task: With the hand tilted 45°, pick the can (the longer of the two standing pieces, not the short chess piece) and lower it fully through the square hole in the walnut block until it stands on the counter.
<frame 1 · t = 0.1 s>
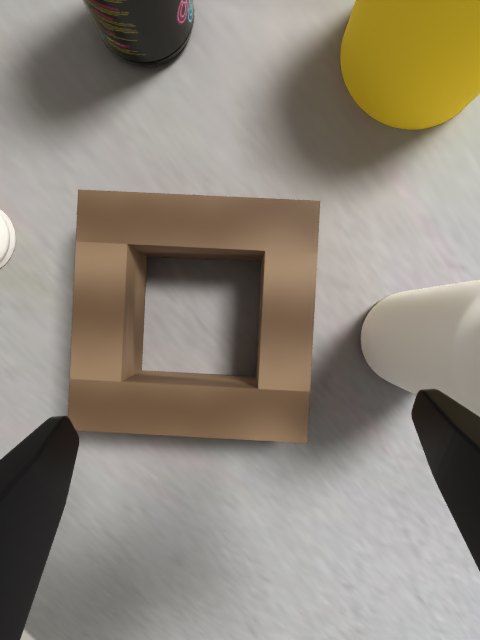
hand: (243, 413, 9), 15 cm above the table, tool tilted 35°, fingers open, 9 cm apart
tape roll: (411, 58, 24), on the table
can: (403, 338, 24), on the table
supplement container: (148, 26, 24), on the table
bored block: (201, 316, 24), on the table
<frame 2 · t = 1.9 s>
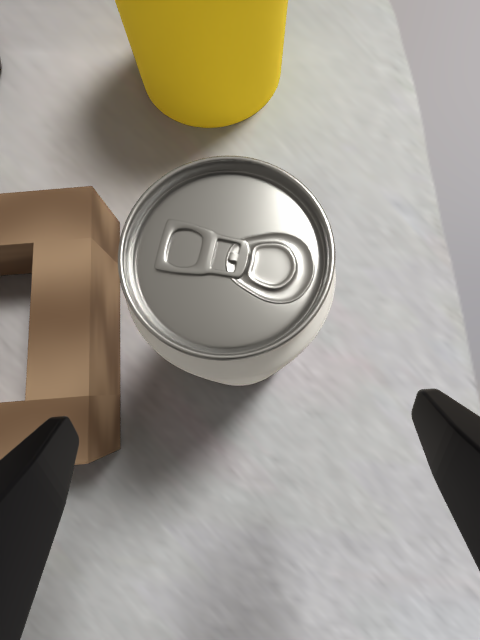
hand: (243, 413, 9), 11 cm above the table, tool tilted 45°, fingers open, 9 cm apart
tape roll: (211, 70, 25), on the table
can: (238, 332, 21), on the table
bored block: (6, 336, 21), on the table
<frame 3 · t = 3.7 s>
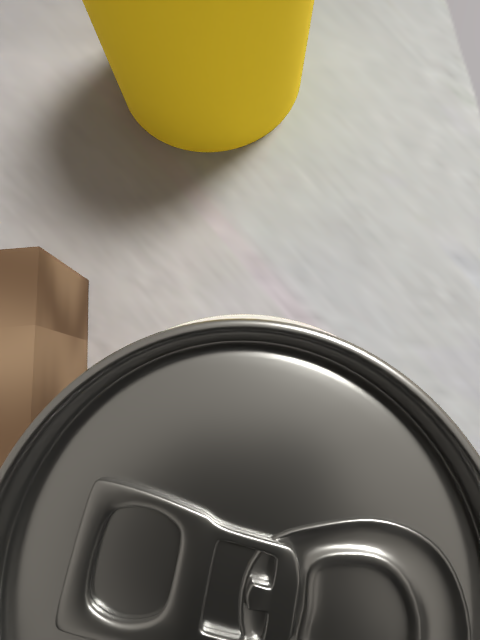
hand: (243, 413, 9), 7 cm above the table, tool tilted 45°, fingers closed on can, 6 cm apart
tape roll: (211, 77, 19), on the table
can: (247, 435, 15), on the table, touching gripper
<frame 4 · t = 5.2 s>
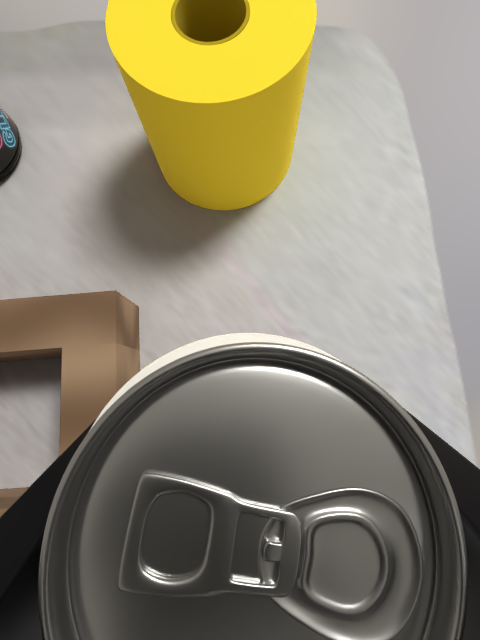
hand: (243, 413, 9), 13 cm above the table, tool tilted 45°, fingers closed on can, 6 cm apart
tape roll: (225, 150, 25), on the table
can: (230, 433, 16), point 5 cm above the table, touching gripper
bored block: (32, 420, 22), on the table
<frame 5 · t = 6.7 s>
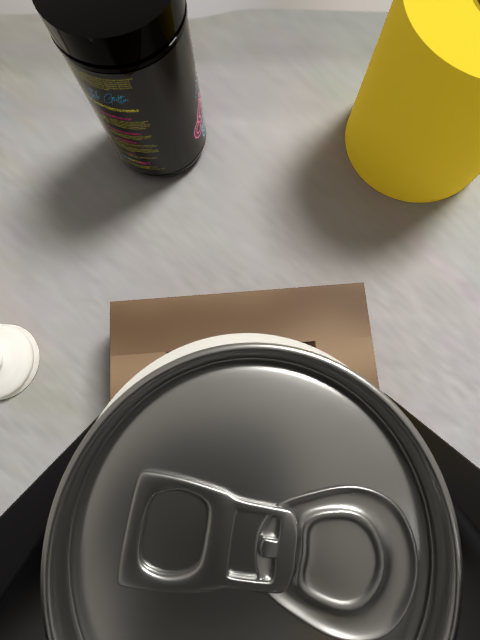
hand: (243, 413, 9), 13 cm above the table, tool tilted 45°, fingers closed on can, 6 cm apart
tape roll: (412, 142, 25), on the table
chess piece: (4, 361, 23), on the table
can: (233, 432, 16), point 5 cm above the table, touching gripper
supplement container: (163, 143, 25), on the table
bored block: (246, 416, 21), on the table
when the fingers open (8 cm above the table, at t = 8.4 s): can stays where it is, resting in bored block.
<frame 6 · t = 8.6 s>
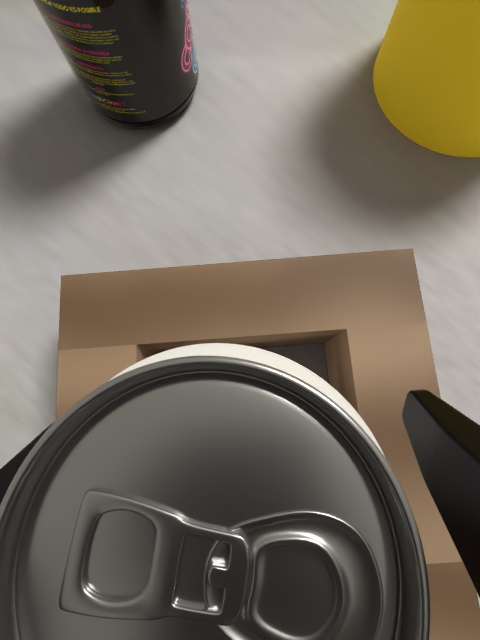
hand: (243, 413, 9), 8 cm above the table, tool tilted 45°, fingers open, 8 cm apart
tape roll: (458, 84, 20), on the table
can: (236, 439, 16), resting in bored block
supplement container: (145, 88, 20), on the table
bored block: (249, 433, 16), on the table
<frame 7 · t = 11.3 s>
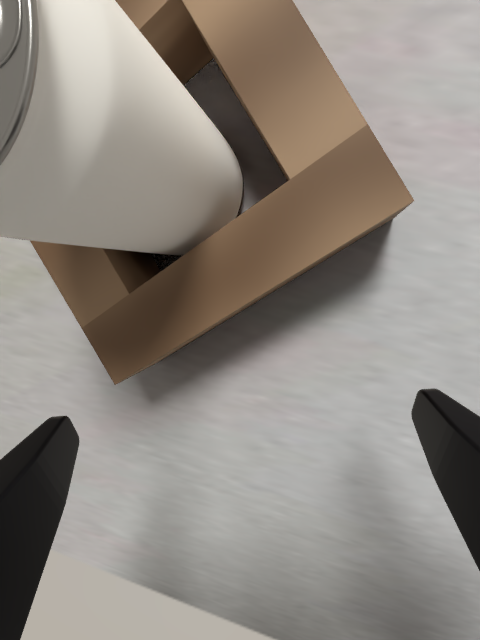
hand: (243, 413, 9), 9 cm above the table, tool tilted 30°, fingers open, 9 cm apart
can: (186, 193, 18), resting in bored block
bored block: (191, 180, 17), on the table
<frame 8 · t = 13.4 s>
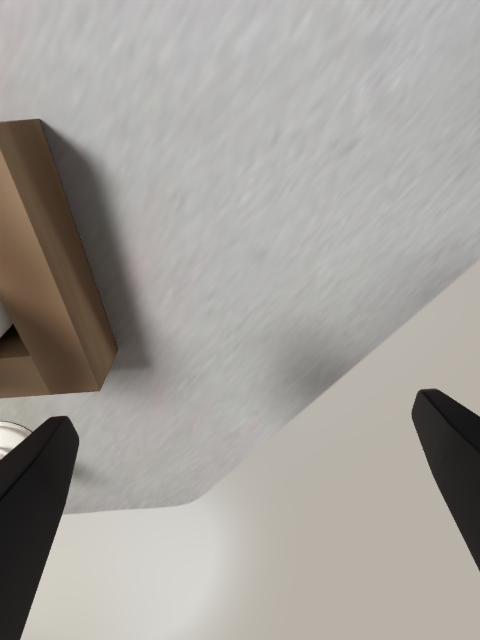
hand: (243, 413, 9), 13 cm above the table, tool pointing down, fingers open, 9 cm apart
chess piece: (10, 438, 29), on the table
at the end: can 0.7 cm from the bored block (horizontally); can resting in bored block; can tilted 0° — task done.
